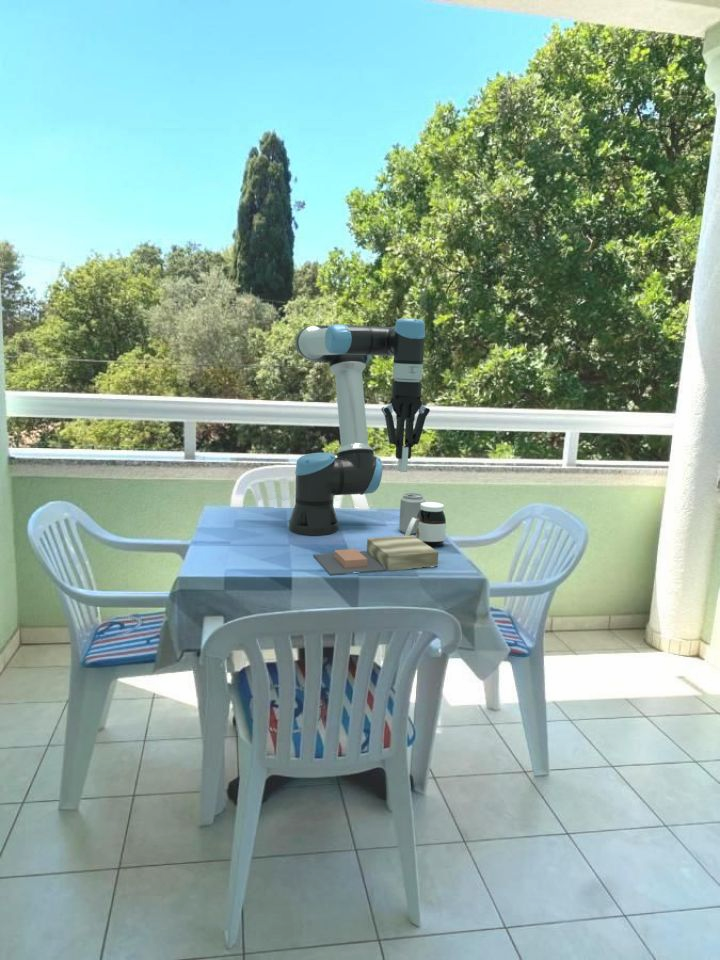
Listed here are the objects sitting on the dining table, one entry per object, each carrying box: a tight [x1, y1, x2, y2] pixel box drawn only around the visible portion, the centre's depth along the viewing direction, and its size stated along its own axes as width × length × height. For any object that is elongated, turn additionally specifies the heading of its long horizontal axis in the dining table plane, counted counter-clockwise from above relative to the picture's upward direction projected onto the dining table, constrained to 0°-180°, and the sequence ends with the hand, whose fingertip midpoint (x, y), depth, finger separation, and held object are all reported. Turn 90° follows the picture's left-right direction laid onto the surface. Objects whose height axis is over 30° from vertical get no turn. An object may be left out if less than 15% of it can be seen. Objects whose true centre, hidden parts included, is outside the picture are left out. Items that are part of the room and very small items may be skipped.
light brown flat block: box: [333, 548, 367, 568], centre depth 177 cm, size 9×6×2 cm, turn 20°
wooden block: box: [366, 535, 439, 572], centre depth 182 cm, size 16×14×4 cm
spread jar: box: [403, 501, 447, 547], centre depth 199 cm, size 12×11×12 cm
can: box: [398, 492, 426, 535], centre depth 209 cm, size 8×8×12 cm
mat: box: [312, 550, 388, 576], centre depth 177 cm, size 16×15×1 cm
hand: (402, 470), depth 177 cm, fingers closed
